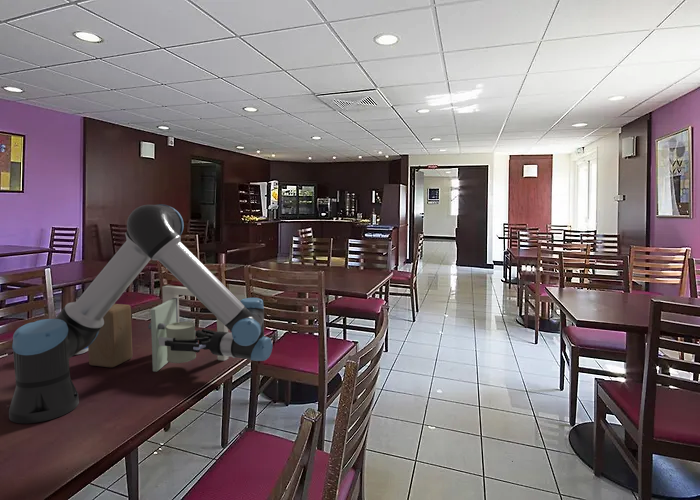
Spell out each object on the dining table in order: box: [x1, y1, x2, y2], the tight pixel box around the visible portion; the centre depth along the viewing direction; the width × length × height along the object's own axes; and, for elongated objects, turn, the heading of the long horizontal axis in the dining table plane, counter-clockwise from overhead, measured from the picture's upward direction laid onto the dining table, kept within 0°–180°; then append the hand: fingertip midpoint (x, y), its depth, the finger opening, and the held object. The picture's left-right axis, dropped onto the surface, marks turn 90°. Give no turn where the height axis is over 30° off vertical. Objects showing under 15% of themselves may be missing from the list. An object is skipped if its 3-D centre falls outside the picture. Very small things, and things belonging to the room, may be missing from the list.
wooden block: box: [87, 303, 133, 368], centre depth 145 cm, size 10×10×20 cm
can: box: [166, 321, 197, 364], centre depth 140 cm, size 9×9×12 cm
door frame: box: [161, 285, 230, 362], centre depth 153 cm, size 2×27×25 cm, turn 71°
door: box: [147, 298, 178, 372], centre depth 145 cm, size 5×18×21 cm, turn 0°
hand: (170, 336), depth 142 cm, fingers closed on can, 9 cm apart
